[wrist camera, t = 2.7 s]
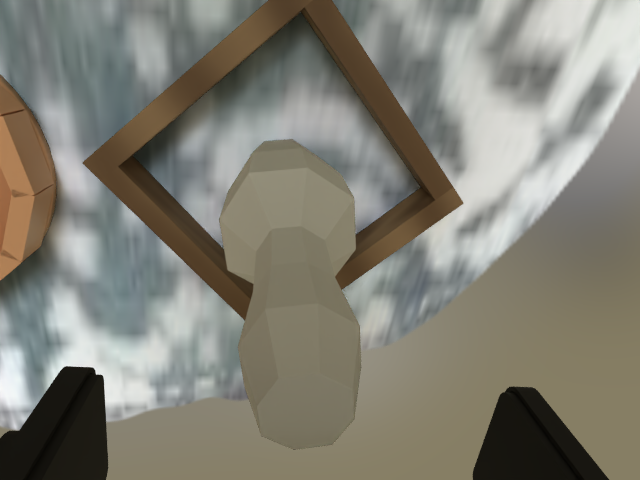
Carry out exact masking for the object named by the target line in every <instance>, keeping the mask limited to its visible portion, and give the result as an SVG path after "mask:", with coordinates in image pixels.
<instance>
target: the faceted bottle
mask: <svg viewBox="0 0 640 480" xmlns="http://www.w3.org/2000/svg"><path fill="white" fill-rule="evenodd" d="M219 222H220V228H221V234H222V240H223V246H224V252H225V258H226V264H227V270H228V271H230V272H232V273H234V274H236V275H237V276H239V277H241V278H243V279H245V280H247V281H249V282H251V283H253V284H254V285H253V293H252V297H251V301H250V304H249V308H248V312H247V315H246V319H245V323H244V326H243V330H242V334H241V337H240V341H239V345H238V350H239V356H240V362H241V368H242V374H243V380H244V386H245V389H246V392H247V395H248V398H249V401H250V404H251V407H252V410H253V413H254V416H255V418H256V421H257V425H258V427H259V430H260V433H261V436H262V437H265V438H267V439H269V440H272V441H274V442H277V443H279V444H281V445H284V446H286V447H289V448H291V449H294V450H296V449H304V448H312V447H320V446H326V445H332V444H333V443H334V442H335V441H336V440H337V439H338V437H339V436H340V435H341V434H342V433H343V432H344V431H345V429H346V428H347V427H348V426H349V425H350V423H352V421H353V420H354V417H355V409H356V401H357V394H358V386H359V379H360V371H361V348H360V325H359V323H358V321H357V319H356V318H355V316H354V314H353V312H352V310H351V308H350V306H349V304H348V302H347V300H346V298H345V296H344V294H343V292H342V290H341V288H340V286H339V284H338V282H337V280H336V278H335V276H336V275H337V273H338V272H339V271H340V269H341V268H342V267H343V265H344V264H345V263H346V262H347V260H348V259H349V258H350V256H351V255H352V254H353V252H354V251H355V250H356V237H355V208H354V197H353V195H352V193H351V192H350V190H349V188H348V186H347V184H346V183H345V181H344V179H343V177H342V175H341V174H340V173H339V172H337V171H336V170H335V169H333V168H332V167H331V166H329V165H328V164H327V163H326V162H324V161H323V160H322V159H320V158H319V157H318V156H316V155H315V154H314V153H312V152H311V151H309V150H308V149H306V148H305V147H303V146H302V145H300V144H299V143H297V142H296V141H294V140H293V139H287V140H274V141H264V142H263V143H262V144H261V145H260V146H259V147H258V148H257V149H256V150H255V151H254V152H253V153H252V154H251V156H250V158H249V159H248V161H247V162H246V164H245V166H244V167H243V169H242V170H241V172H240V173H239V175H238V177H237V178H236V180H235V181H234V183H233V185H232V186H231V188H230V189H229V191H228V193H227V197H226V200H225V203H224V206H223V209H222V212H221V216H220V219H219Z"/></svg>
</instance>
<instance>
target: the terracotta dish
mask: <svg viewBox="0 0 640 480" xmlns="http://www.w3.org/2000/svg"><path fill="white" fill-rule="evenodd" d="M56 196H57V194H56V175H55V169H54V163H53V159H52V156H51V153H50V149H49V146H48V143H47V141H46V139H45V137H44V134H43V132H42V130H41V128H40V126H39V124H38V122H37V121H36V119H35V117H34V116H33V114H32V112H31V111H30V109H29V108H28V106H27V105H26V104H25V102H24V101H23V100H22V98H21V97H20V96H19V94H18V93H17V92H16V91H15V90H14V89H13V87H12V86H11V85H10V84H9V83H8V82H7V81H6V80H5V79H4V78H3V77H2V76H1V75H0V281H1V280H2V279H3V278H4V277H5V276H6V275H8V274H9V273H10V272H11V271H12V270H14V269H15V268H16V267H17V266H18V265H19V264H21V263H22V262H23V261H24V260H25V259H26V258H28V257H29V256H30V255H31V254H32V253H34V252H35V251H36V250H37V249H38V248H39V247H41V245H42V240H43V238H44V237H45V234H46V232H47V230H48V228H49V226H50V224H51V221H52V217H53V214H54V211H55V203H56Z"/></svg>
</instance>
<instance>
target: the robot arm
mask: <svg viewBox="0 0 640 480" xmlns="http://www.w3.org/2000/svg"><path fill="white" fill-rule="evenodd" d="M107 471H108V453H107V433H106V413H105V394H104V378H103V376H102V375H96V373H95V370H94V368H90V367H68V366H66V367H64V368H63V369H62V370H61V371H60V372H59V374H58V375H57V377H56V378H55V380H54V381H53V383H52V384H51V385H50V387H49V388H48V390H47V391H46V393H45V394H44V396H43V397H42V398H41V400H40V401H39V403H38V404H37V406H36V407H35V409H34V410H33V412H32V413H31V414H30V416H29V417H28V419H27V420H26V422H25V423H24V425H23V426H22V428H21V429H20V430H19V431H8V432H7V433H5V434H4V435H3V436H2V437H1V438H0V480H106V477H107ZM473 480H609V479H608V478H607V476H606V475H605V474H604V473H603V472H602V470H601V469H600V468H599V467H598V465H597V464H596V463H595V462H594V460H593V459H592V458H591V457H590V455H589V454H588V453H587V452H586V450H585V449H584V448H583V447H582V445H581V444H580V443H579V442H578V441H577V439H576V438H575V437H574V436H573V434H572V433H571V432H570V430H569V429H568V428H567V427H566V426H565V424H564V423H563V422H562V421H561V419H560V418H559V417H558V416H557V414H556V413H555V412H554V411H553V409H552V408H551V407H550V406H549V404H548V403H547V402H546V401H545V400H544V398H543V397H542V396H541V395H540V393H539V392H538V391H537V390H536V389H534V388H532V387H509V388H508V389H507V390H506V391H505V392H504V393H502V394H501V395H500V397H499V399H498V402H497V405H496V408H495V410H494V413H493V416H492V419H491V422H490V425H489V428H488V431H487V434H486V436H485V439H484V442H483V445H482V448H481V450H480V453H479V456H478V459H477V462H476V464H475V467H474V471H473Z"/></svg>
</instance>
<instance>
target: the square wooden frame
mask: <svg viewBox="0 0 640 480" xmlns="http://www.w3.org/2000/svg"><path fill="white" fill-rule="evenodd" d="M300 12H301V13H302V14H303V15H304V17H305V18H306V20H307V21H308V23H309V24H310V26H311V27H312V29H313V30H314V32H315V33H316V34H317V36H318V37H319V39H320V40H321V42H322V43H323V45H324V46H325V48H326V49H327V51H328V52H329V53H330V55H331V56H332V58H333V59H334V61H335V62H336V64H337V65H338V67H339V68H340V70H341V71H342V72H343V74H344V75H345V77H346V78H347V80H348V81H349V83H350V84H351V86H352V87H353V89H354V90H355V91H356V93H357V94H358V96H359V97H360V99H361V100H362V102H363V103H364V105H365V106H366V107H367V109H368V110H369V112H370V113H371V115H372V116H373V118H374V119H375V121H376V122H377V124H378V125H379V126H380V128H381V129H382V131H383V132H384V134H385V135H386V137H387V138H388V140H389V141H390V143H391V144H392V145H393V147H394V148H395V150H396V151H397V153H398V154H399V156H400V157H401V159H402V160H403V162H404V163H405V164H406V166H407V167H408V169H409V170H410V172H411V173H412V175H413V176H414V178H415V179H416V181H417V182H418V183H419V185H420V186H421V188H420V189H418V190H417V191H416V192H414V193H413V194H411V195H410V196H409V197H407V198H406V199H405V200H403V201H402V202H400V203H399V204H398V205H396V206H395V207H394V208H392V209H391V210H389V211H388V212H387V213H385V214H384V215H383V216H381V217H380V218H378V219H377V220H376V221H374V222H373V223H372V224H370V225H369V226H368V227H366V228H365V229H363V230H362V231H361V232H359V233H358V234H357V235H355V237H356V250H355V251H354V252H353V254H352V255H351V256H350V258H349V259H348V260H347V262H346V263H345V264H344V265H343V267H342V268H341V269H340V271H339V272H338V273H337V275H336V276H335V278H336V280H337V282H338V284H339V286H340V288H341V290H342V289H343V288H345V287H346V286H348V285H349V284H350V283H352V282H353V281H355V280H356V279H357V278H359V277H360V276H362V275H363V274H364V273H366V272H367V271H369V270H370V269H372V268H373V267H374V266H376V265H377V264H379V263H380V262H381V261H383V260H384V259H386V258H387V257H388V256H390V255H391V254H393V253H394V252H396V251H397V250H398V249H400V248H401V247H403V246H404V245H405V244H407V243H408V242H410V241H411V240H412V239H414V238H415V237H417V236H418V235H420V234H421V233H422V232H424V231H425V230H427V229H428V228H429V227H431V226H432V225H434V224H435V223H436V222H438V221H439V220H441V219H442V218H444V217H445V216H446V215H448V214H449V213H451V212H452V211H453V210H455V209H456V208H458V207H459V206H460V205H462V204H463V201H462V200H461V198H460V197H459V195H458V194H457V192H456V191H455V189H454V188H453V186H452V184H451V183H450V181H449V180H448V178H447V177H446V175H445V174H444V172H443V171H442V169H441V168H440V166H439V164H438V163H437V161H436V160H435V158H434V157H433V155H432V154H431V152H430V151H429V149H428V148H427V146H426V144H425V143H424V141H423V140H422V138H421V137H420V135H419V134H418V132H417V131H416V129H415V127H414V126H413V124H412V123H411V121H410V120H409V118H408V117H407V115H406V114H405V112H404V111H403V109H402V107H401V106H400V104H399V103H398V101H397V100H396V98H395V97H394V95H393V94H392V92H391V91H390V89H389V87H388V86H387V84H386V83H385V81H384V80H383V78H382V77H381V75H380V74H379V72H378V70H377V69H376V67H375V66H374V64H373V63H372V61H371V60H370V58H369V57H368V55H367V54H366V52H365V50H364V49H363V47H362V46H361V44H360V43H359V41H358V40H357V38H356V37H355V35H354V34H353V32H352V30H351V29H350V27H349V26H348V24H347V23H346V21H345V20H344V18H343V17H342V15H341V13H340V12H339V10H338V9H337V7H336V6H335V4H334V3H333V1H332V0H268V1H267V2H266V3H265V4H264V5H263V6H261V7H260V8H259V9H258V10H257V11H256V12H255V13H253V14H252V15H251V16H250V17H249V18H248V19H247V20H245V21H244V22H243V23H242V24H241V25H240V26H239V27H237V28H236V29H235V30H234V31H233V32H232V33H230V34H229V35H228V36H227V37H226V38H225V39H224V40H222V41H221V42H220V43H219V44H218V45H217V46H216V47H214V48H213V49H212V50H211V51H210V52H209V53H208V54H206V55H205V56H204V57H203V58H202V59H201V60H200V61H198V62H197V63H196V64H195V65H194V66H193V67H192V68H190V69H189V70H188V71H187V72H186V73H185V74H184V75H182V76H181V77H180V78H179V79H178V80H177V81H175V82H174V83H173V84H172V85H171V86H170V87H169V88H167V89H166V90H165V91H164V92H163V93H162V94H161V95H159V96H158V97H157V98H156V99H155V100H154V101H153V102H151V103H150V104H149V105H148V106H147V107H146V108H145V109H143V110H142V111H141V112H140V113H139V114H138V115H137V116H135V117H134V118H133V119H132V120H131V121H130V122H129V123H127V124H126V125H125V126H124V127H123V128H122V129H121V130H119V131H118V132H117V133H116V134H115V135H114V136H112V137H111V138H110V139H109V140H108V141H107V142H106V143H104V144H103V145H102V146H101V147H100V148H99V149H98V150H96V151H95V152H94V153H93V154H92V155H91V156H90V157H88V158H87V159H86V160H85V161H84V162H83V164H84V165H85V166H86V167H87V168H88V169H89V170H90V171H91V172H92V173H93V174H94V175H95V176H96V177H97V178H98V179H99V180H100V181H101V182H103V183H104V184H105V185H106V186H107V187H108V188H109V189H110V190H111V191H112V192H113V193H114V194H115V195H116V196H117V197H118V198H119V199H120V200H121V201H122V202H123V203H124V204H125V205H126V206H127V207H128V208H129V209H130V210H131V211H132V212H134V213H135V214H136V215H137V216H138V217H139V218H140V219H141V220H142V221H143V222H144V223H145V224H146V225H147V226H148V227H149V228H150V229H151V230H152V231H153V232H154V233H155V234H156V235H157V236H158V237H159V238H160V239H161V240H162V241H163V242H164V243H166V244H167V245H168V246H169V247H170V248H171V249H172V250H173V251H174V252H175V253H176V254H177V255H178V256H179V257H180V258H181V259H182V260H183V261H184V262H185V263H186V264H187V265H188V266H189V267H190V268H191V269H192V270H193V271H194V272H195V273H196V274H198V275H199V276H200V277H201V278H202V279H203V280H204V281H205V282H206V283H207V284H208V285H209V286H210V287H211V288H212V289H213V290H214V291H215V292H216V293H217V294H218V295H219V296H220V297H221V298H222V299H223V300H224V301H225V302H226V303H227V304H229V305H230V306H231V307H232V308H233V309H234V310H235V311H236V312H237V313H238V314H239V315H240V316H241V317H242V318H243V319H244V320H245V319H246V315H247V312H248V308H249V304H250V301H251V297H252V293H253V285H254V284H253V283H251V282H249V281H247V280H245V279H243V278H241V277H239V276H237V275H236V274H234V273H232V272H230V271H228V270H227V264H226V258H225V252H224V249H223V248H222V247H221V246H220V245H219V244H218V243H217V242H216V241H215V240H214V239H213V238H212V237H211V236H210V235H209V234H208V233H207V232H206V231H205V230H204V229H203V228H202V227H201V226H200V225H199V224H198V223H197V222H196V220H195V219H194V218H193V217H192V216H191V215H190V214H189V213H188V212H187V211H186V210H185V209H184V208H183V207H182V206H181V205H180V204H179V203H178V202H177V201H176V200H175V199H174V198H173V197H172V196H171V195H170V194H169V193H168V192H167V191H166V190H165V189H164V188H163V186H162V185H161V184H160V183H159V182H158V181H157V180H156V179H155V178H154V177H153V176H152V175H151V174H150V173H149V172H148V171H147V170H146V169H145V168H144V167H143V166H142V165H141V164H140V163H139V162H138V161H137V160H136V159H135V158H134V157H133V155H134V154H135V153H136V152H138V151H139V150H140V149H141V148H142V147H143V146H145V145H146V144H147V143H148V142H149V141H150V140H152V139H153V138H154V137H155V136H156V135H157V134H159V133H160V132H161V131H162V130H163V129H164V128H166V127H167V126H168V125H169V124H170V123H171V122H173V121H174V120H175V119H176V118H177V117H179V116H180V115H181V114H182V113H183V112H184V111H186V110H187V109H188V108H189V107H190V106H191V105H193V104H194V103H195V102H196V101H197V100H198V99H200V98H201V97H202V96H203V95H204V94H205V93H207V92H208V91H209V90H210V89H211V88H212V87H214V86H215V85H216V84H217V83H218V82H219V81H221V80H222V79H223V78H224V77H225V76H227V75H228V74H229V73H230V72H231V71H232V70H234V69H235V68H236V67H237V66H238V65H239V64H241V63H242V62H243V61H244V60H245V59H246V58H248V57H249V56H250V55H251V54H252V53H253V52H255V51H256V50H257V49H258V48H259V47H260V46H262V45H263V44H264V43H265V42H266V41H268V40H269V39H270V38H271V37H272V36H273V35H275V34H276V33H277V32H278V31H279V30H280V29H282V28H283V27H284V26H285V25H286V24H287V23H289V22H290V21H291V20H292V19H293V18H294V17H296V16H297V15H298V14H299V13H300Z"/></svg>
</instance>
